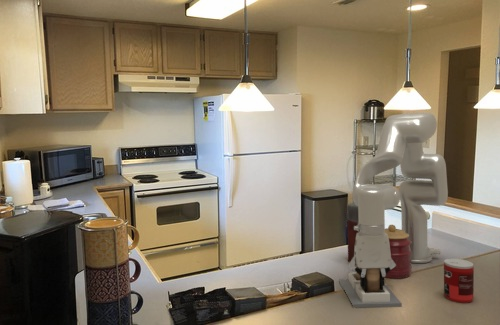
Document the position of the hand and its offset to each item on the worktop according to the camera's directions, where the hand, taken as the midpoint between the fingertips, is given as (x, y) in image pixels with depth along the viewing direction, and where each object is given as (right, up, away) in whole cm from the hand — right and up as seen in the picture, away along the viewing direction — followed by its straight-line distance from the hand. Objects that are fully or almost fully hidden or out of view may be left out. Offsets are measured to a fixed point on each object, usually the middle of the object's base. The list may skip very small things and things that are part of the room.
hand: (372, 287), depth 119 cm
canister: (+15, -2, +23) cm, 27 cm away
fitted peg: (0, -2, +10) cm, 10 cm away
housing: (0, -3, +5) cm, 6 cm away
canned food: (+26, -3, 0) cm, 26 cm away
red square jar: (+9, -1, +35) cm, 36 cm away
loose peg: (0, -1, 0) cm, 1 cm away
